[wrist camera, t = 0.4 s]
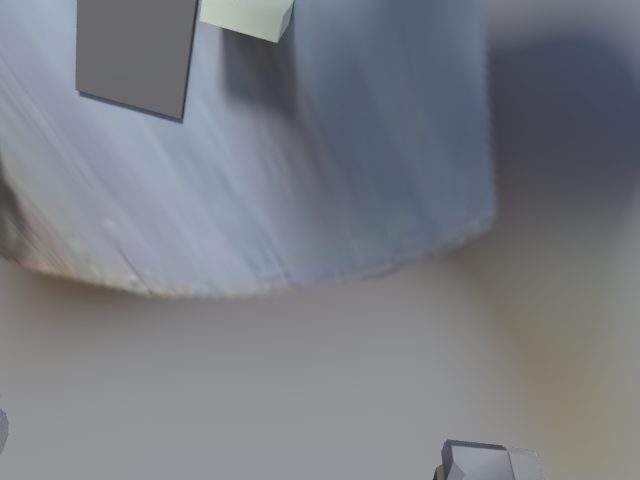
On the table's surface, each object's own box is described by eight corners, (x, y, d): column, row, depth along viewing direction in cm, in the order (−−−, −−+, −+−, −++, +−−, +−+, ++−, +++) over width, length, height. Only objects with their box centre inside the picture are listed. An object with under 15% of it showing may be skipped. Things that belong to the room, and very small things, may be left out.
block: (224, -21, 47) (203, -7, 41) (294, -1, 48) (283, 16, 42) (221, 3, 48) (199, 20, 42) (289, 23, 49) (277, 43, 43)
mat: (81, -77, 46) (78, -76, 45) (202, -41, 46) (200, -40, 46) (78, 88, 53) (75, 89, 53) (182, 116, 54) (180, 118, 53)
